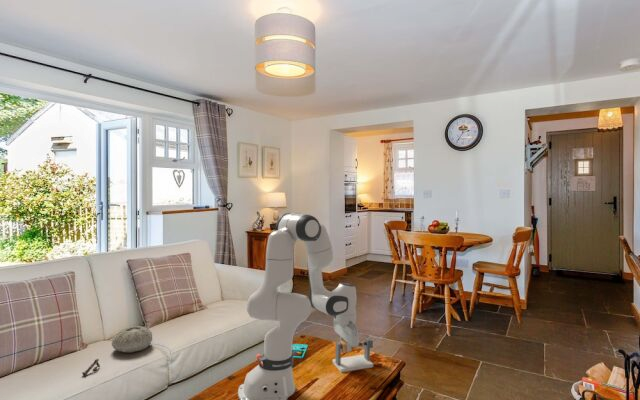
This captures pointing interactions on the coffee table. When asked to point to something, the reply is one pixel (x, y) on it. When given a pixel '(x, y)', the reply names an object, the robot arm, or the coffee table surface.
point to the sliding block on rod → (354, 358)
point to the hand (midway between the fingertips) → (345, 348)
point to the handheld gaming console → (299, 349)
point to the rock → (132, 339)
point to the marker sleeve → (344, 347)
